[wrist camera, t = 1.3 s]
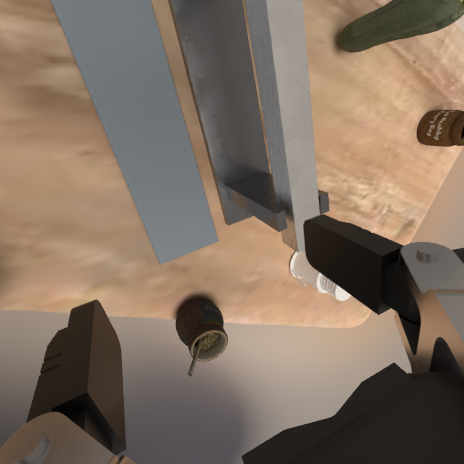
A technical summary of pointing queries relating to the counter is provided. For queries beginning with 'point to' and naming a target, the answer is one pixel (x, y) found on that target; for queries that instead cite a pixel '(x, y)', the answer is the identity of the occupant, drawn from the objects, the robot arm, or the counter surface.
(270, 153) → the steel rail
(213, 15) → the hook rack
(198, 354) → the mate gourd
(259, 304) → the counter surface
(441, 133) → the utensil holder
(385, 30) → the vegetable
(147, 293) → the counter surface
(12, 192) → the counter surface
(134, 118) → the blue-gray flat board
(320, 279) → the downlight
